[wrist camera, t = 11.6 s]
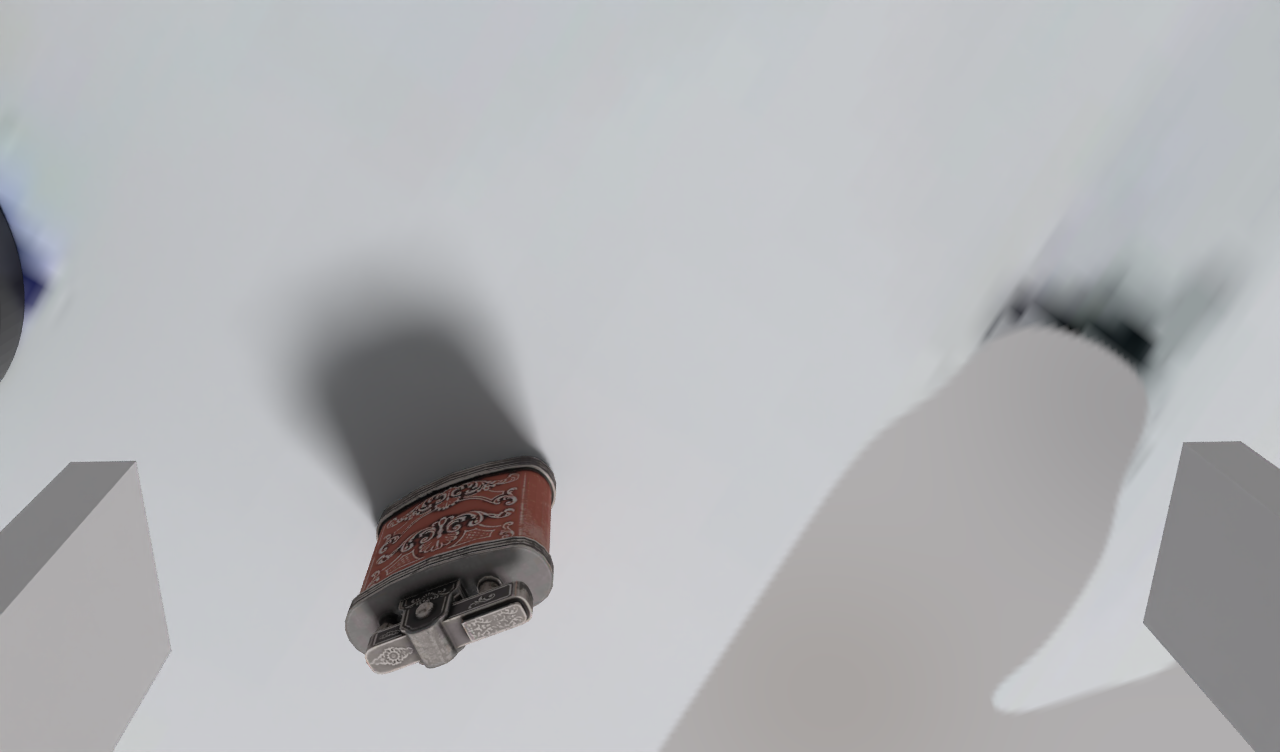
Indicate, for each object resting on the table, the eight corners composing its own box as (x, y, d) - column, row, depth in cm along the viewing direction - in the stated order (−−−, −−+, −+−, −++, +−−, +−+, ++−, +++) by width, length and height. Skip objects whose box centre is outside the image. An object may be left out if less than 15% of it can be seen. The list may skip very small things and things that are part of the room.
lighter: (400, 568, 46) (356, 720, 37) (365, 505, 45) (311, 647, 35) (568, 505, 45) (567, 644, 36) (538, 440, 44) (529, 567, 35)
